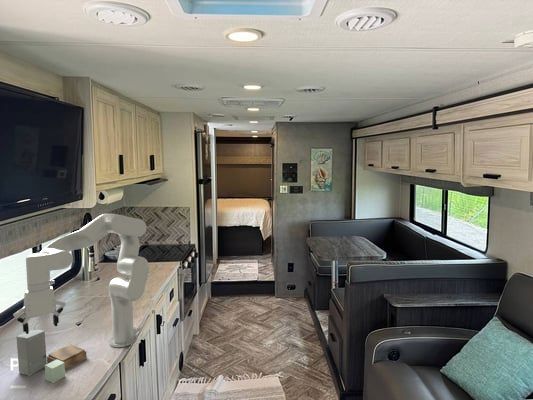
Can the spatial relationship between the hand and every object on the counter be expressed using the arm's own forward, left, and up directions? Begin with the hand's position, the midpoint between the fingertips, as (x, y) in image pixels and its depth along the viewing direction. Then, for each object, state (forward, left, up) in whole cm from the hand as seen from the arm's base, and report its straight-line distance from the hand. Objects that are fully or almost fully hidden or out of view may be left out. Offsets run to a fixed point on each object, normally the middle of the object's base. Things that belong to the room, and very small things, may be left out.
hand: (41, 328), depth 142 cm
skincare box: (-3, -14, -22) cm, 26 cm away
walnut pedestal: (-14, -8, -22) cm, 27 cm away
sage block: (-4, 0, -22) cm, 22 cm away
